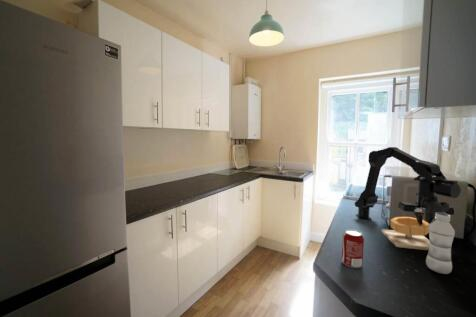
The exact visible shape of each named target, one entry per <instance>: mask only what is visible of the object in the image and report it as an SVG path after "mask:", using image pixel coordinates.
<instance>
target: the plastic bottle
mask: <svg viewBox="0 0 476 317" xmlns="http://www.w3.org/2000/svg"><path fill="white" fill-rule="evenodd" d="M434 219H435V220H432V222H431V223H430V225H429V233H428V237H429V242H430V243H429V250H427V251H428V253H427V255H426V257H425V258H426V259H425V264H426V266H427V268H429V269H430V270H431V271H434V272H435V273H438V274H443V275H449V274H450V273H451V272H452V270H453V261H452V244H453V242H454V238H455V235H456V234H455V233H456V231H455V229H454V227H453V226H452V225H451V223H450V222H451V215H450V214H445V213H444V212H443V213H436V214H435V218H434Z"/></svg>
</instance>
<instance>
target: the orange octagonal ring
mask: <svg viewBox="0 0 476 317" xmlns="http://www.w3.org/2000/svg"><path fill="white" fill-rule="evenodd" d="M430 224H431V223H430ZM430 224H429V223H428V222H426V221H425V219H423V220H422V225H420V226H419V224H418V221H417V219H416V217H412V216H395V217H393V218H391V219H390V228H391V230H395V231H396V232H399V233H403V234H407V235H423V236H427V235H429V225H430Z"/></svg>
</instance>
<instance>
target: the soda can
mask: <svg viewBox="0 0 476 317" xmlns="http://www.w3.org/2000/svg"><path fill="white" fill-rule="evenodd" d="M341 243H342V244H341V245H342V247H341V263H342V264H343V265H344V266H346V267H349V268H351V269H359V268H360V269H361V268H362V267H363V264H364V249H365V248H364V245H365V238H364V236H363V233H362V232H361V231H360V230H356V229H353V228H352V229H351V228H347V229H345V230H344V233H343V234H342V242H341Z"/></svg>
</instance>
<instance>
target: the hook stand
mask: <svg viewBox="0 0 476 317" xmlns="http://www.w3.org/2000/svg"><path fill="white" fill-rule="evenodd" d="M380 231H381V233H382V234H383V235H384V237H386V238H387V239H388V240H389V241H390V242H391V243H392V244H393V245H394V246H395V247H396V248H404V249H405V248H406V249H412V250H413V249H414V250H423V251H429V243H430V242H429V240H430V238H429V239H428V238H427V237H426V236H425V235H407V234H403V233H399V232H396V231H395V230H393V229H383V228H382V229H381V230H380Z"/></svg>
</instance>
